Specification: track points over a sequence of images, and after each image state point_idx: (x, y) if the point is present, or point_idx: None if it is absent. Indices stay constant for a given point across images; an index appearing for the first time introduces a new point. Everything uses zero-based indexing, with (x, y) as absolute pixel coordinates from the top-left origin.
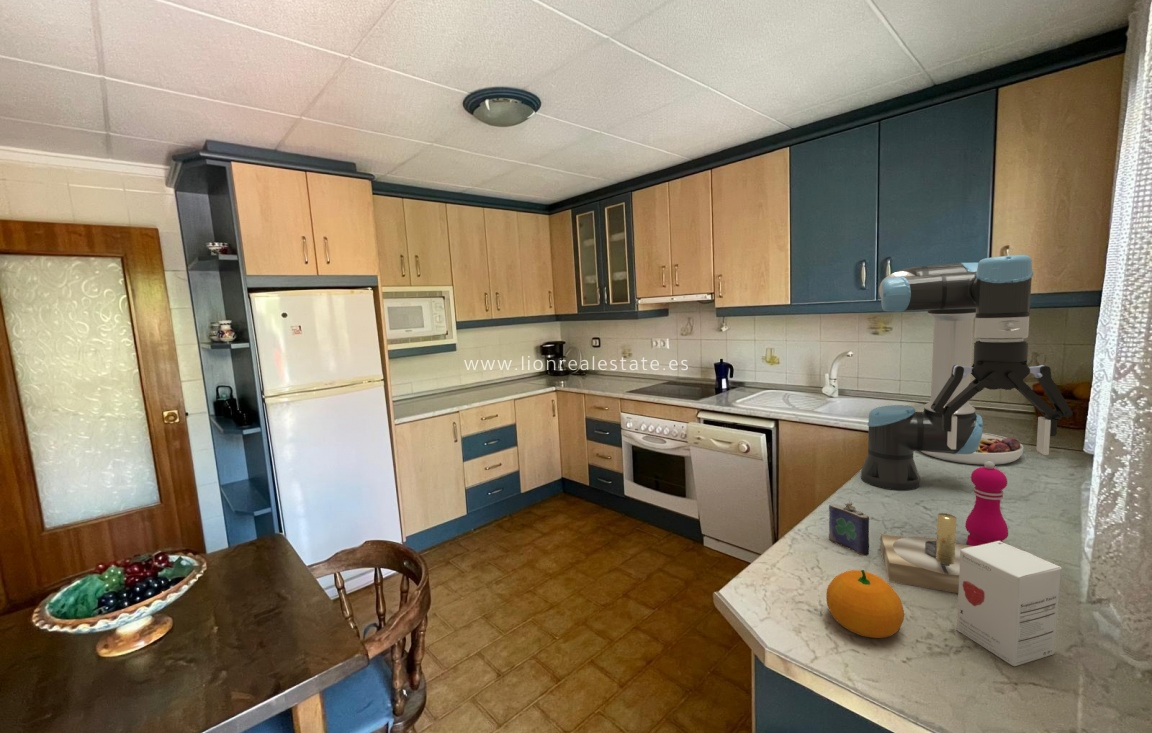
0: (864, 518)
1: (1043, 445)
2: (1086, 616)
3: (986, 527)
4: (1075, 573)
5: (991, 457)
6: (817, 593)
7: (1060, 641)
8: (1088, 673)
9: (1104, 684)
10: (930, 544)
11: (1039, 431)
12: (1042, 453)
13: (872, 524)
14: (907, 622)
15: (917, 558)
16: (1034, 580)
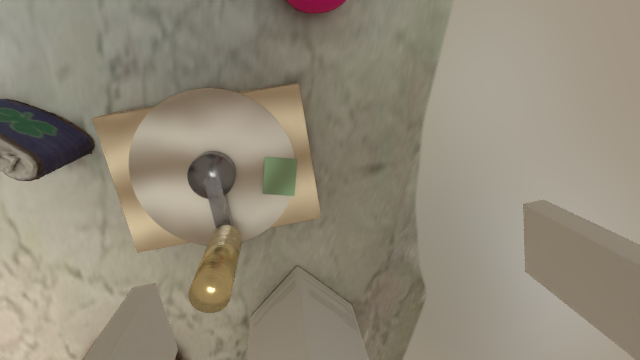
0: (31, 179)
1: (557, 293)
2: (413, 189)
3: (313, 5)
4: (444, 31)
5: None
6: (56, 331)
7: (365, 273)
8: (376, 322)
9: (385, 332)
10: (197, 178)
11: (618, 279)
12: (526, 266)
13: None
14: (191, 332)
15: (181, 209)
16: None
